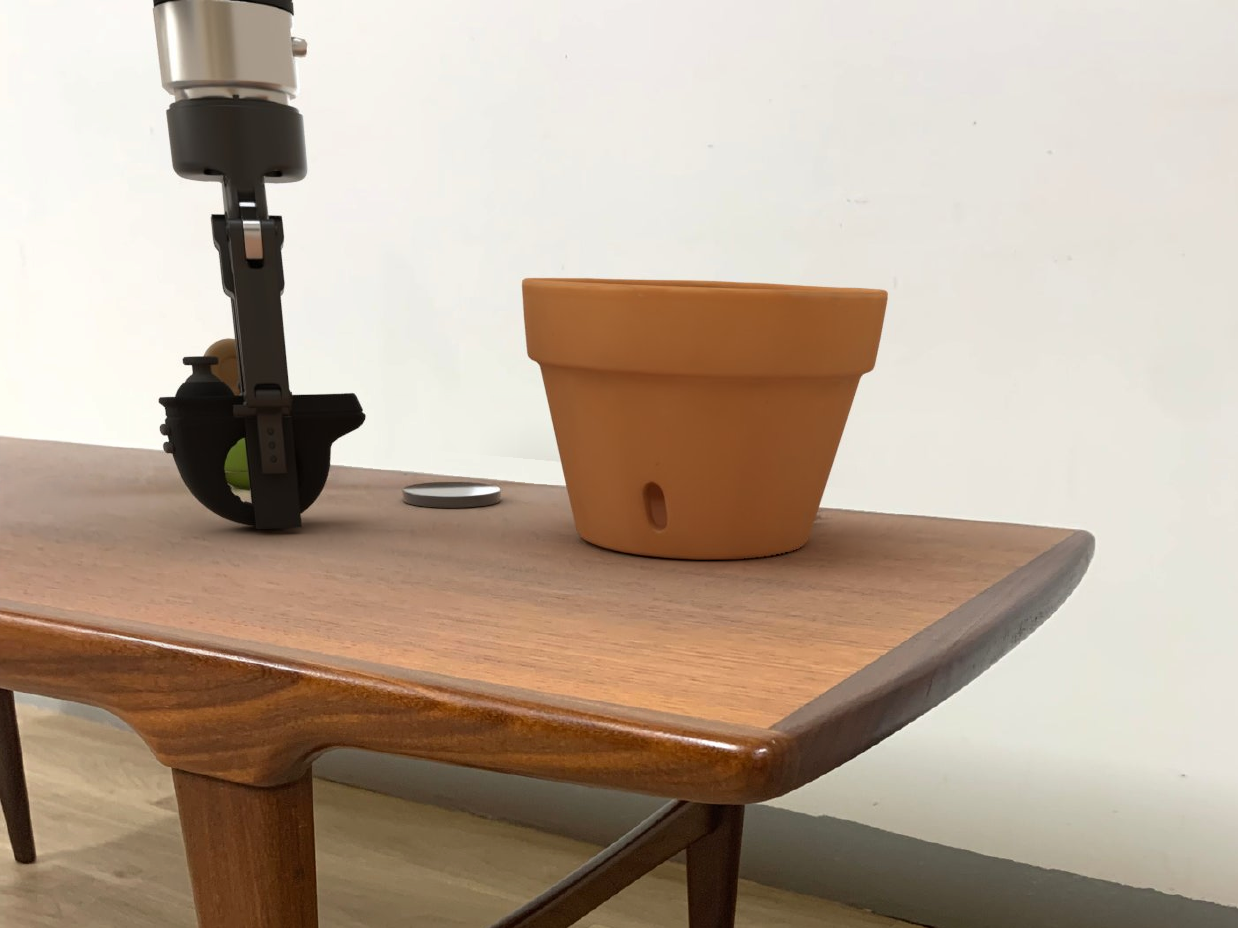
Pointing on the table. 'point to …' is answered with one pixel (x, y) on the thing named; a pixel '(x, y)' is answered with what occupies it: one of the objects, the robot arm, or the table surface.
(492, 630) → the table surface
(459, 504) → the slate coaster
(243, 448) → the snail figurine
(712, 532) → the flower pot
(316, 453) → the controller
